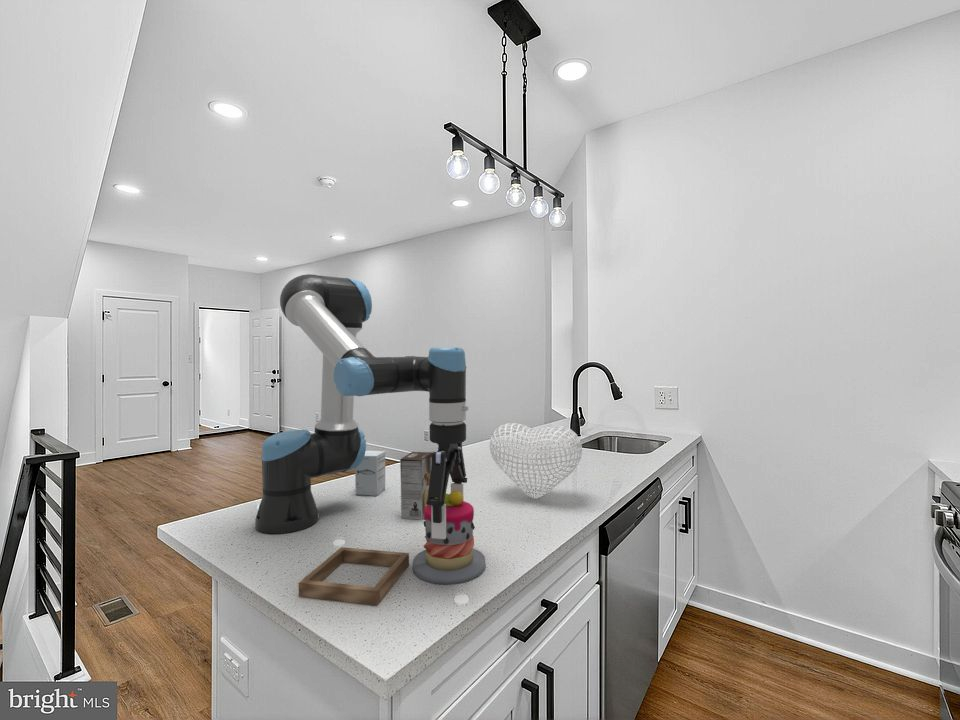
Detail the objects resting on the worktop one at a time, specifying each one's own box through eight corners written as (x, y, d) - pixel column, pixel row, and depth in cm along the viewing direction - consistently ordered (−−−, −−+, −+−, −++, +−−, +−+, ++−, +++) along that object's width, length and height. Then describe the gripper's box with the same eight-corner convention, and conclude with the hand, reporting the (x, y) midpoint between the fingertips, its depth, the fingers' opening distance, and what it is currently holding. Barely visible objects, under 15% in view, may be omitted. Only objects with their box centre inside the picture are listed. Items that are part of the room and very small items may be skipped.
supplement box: (354, 495, 142) (354, 454, 142) (364, 488, 149) (364, 449, 149) (377, 496, 141) (376, 455, 141) (386, 489, 148) (385, 450, 148)
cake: (475, 548, 100) (475, 480, 100) (473, 571, 90) (472, 495, 90) (428, 548, 101) (427, 480, 100) (420, 571, 90) (419, 495, 90)
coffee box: (412, 507, 131) (411, 451, 131) (433, 508, 130) (433, 451, 130) (400, 518, 122) (399, 458, 122) (423, 520, 121) (422, 459, 121)
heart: (481, 500, 137) (481, 425, 136) (501, 485, 151) (500, 418, 150) (575, 513, 125) (575, 431, 125) (587, 496, 139) (586, 423, 139)
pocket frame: (298, 596, 84) (298, 582, 84) (341, 558, 99) (341, 547, 99) (377, 605, 80) (377, 591, 80) (409, 565, 96) (408, 553, 95)
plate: (401, 580, 89) (401, 574, 89) (426, 547, 104) (426, 542, 104) (476, 587, 86) (476, 581, 86) (491, 553, 101) (491, 547, 101)
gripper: (448, 433, 81) (449, 552, 82) (478, 414, 106) (479, 505, 106) (408, 432, 83) (409, 548, 83) (447, 413, 107) (448, 503, 108)
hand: (448, 524), depth 95 cm, fingers open, 13 cm apart
